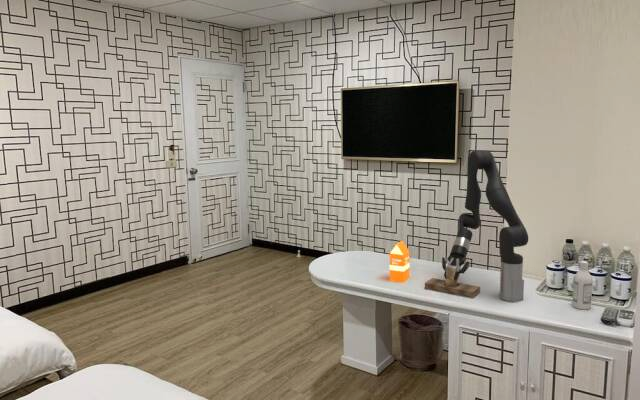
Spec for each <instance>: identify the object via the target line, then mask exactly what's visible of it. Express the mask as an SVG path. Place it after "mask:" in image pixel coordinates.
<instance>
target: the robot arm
mask: <svg viewBox="0 0 640 400" xmlns="http://www.w3.org/2000/svg"><path fill="white" fill-rule="evenodd" d="M466 167H467V171H466V172H467V174H466V176H467V178H466V179H467V187H466V189H467V190H466V196H465V203H464V208H465V210H468V211H470V212H471V213H466V212H464V213H463V212H462V213H461V214H460V215H459V217H458V231H457V234H456V238H455V240H454V241H453V245H452V247H451V250H450V253H449V255H448V257H446V258H445V257H442V258H441V263H442V264H441V265H442V266H441V267H442V270H443V271H444V273H443V278H444V280H446V267H447V266H449V265H453V266H456V267H457V270H456V273H455V276H454V280H455V281H456V280H457V281H458V280H459V276H460V274H463V275H464V274H465V273H466V271H467V270H468V269H469V268H470V266H471V264H470V262H469V261H468V260H466V259H467V255H468V251H469V250H470V246H471V241H472V238H473V232H472V231H471V230H477V229H479V227H480V226H481V215H480V204H481V200H482V190H481V188H480V185H479V182H478V177H477V176H478V170H483V171H484V173H485V175H486V178H487V183H486V186H485V196H486V199H487V202H488V203H489V205H490V207H491V208H492V209H493V211H495V212H496V213H497V214H498V215H499V216H501V217H502V218H503V219H504V220H505V221H506V222H507V225H508V226H505V227H502V228H501V229H500V231H499V237H498V238H499V239H498V243H499V257H500V273H499V274H500V275H499V276H500V277H499V298H500V299H501V300H503V301H506V302H511V303H517V302H521V301H524V294H525V293H524V289H525V280H524V279H523V270H524V269H523V267H524V257H523V255H522V254H519V253H516V252H515V249H514V248H518V247H524V246H526V245H528V243H529V234H528V232H527V229H526V227H525V225H524V224H523V222H522V220H521V218H520V216H519V215H518V214H517V211H516V209H515V207H514V205H513V203H512V200H511V197H510V195H509V192H508V191H507V189H506V187H505V185H504V183H503V179H502V177H501V176H500V172H499V170H498V167H497V163H496V159H495V157H494V155H493V153H492V152H490V151H488V150H471V151H470V153H469V154H468V157H467V166H466ZM470 229H471V230H470Z"/></svg>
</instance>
